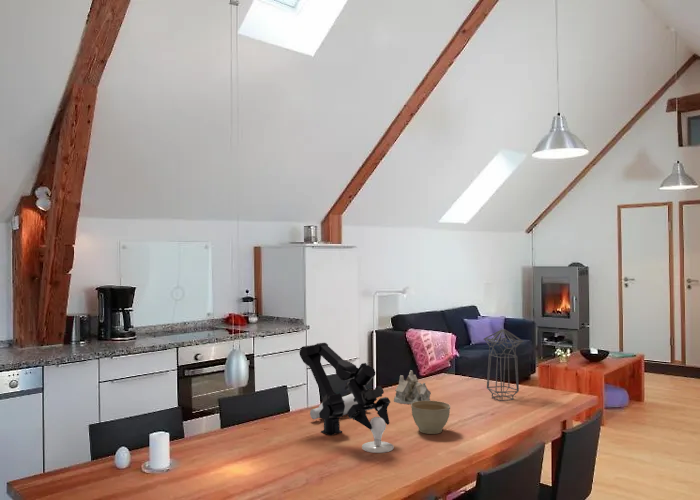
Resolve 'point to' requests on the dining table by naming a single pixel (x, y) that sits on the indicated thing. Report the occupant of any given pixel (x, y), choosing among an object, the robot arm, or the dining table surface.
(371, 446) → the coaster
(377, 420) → the lightbulb
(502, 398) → the geometric lantern
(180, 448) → the dining table surface
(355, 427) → the dining table surface
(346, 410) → the bottle
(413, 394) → the ceramic cottage
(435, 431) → the planter bowl
